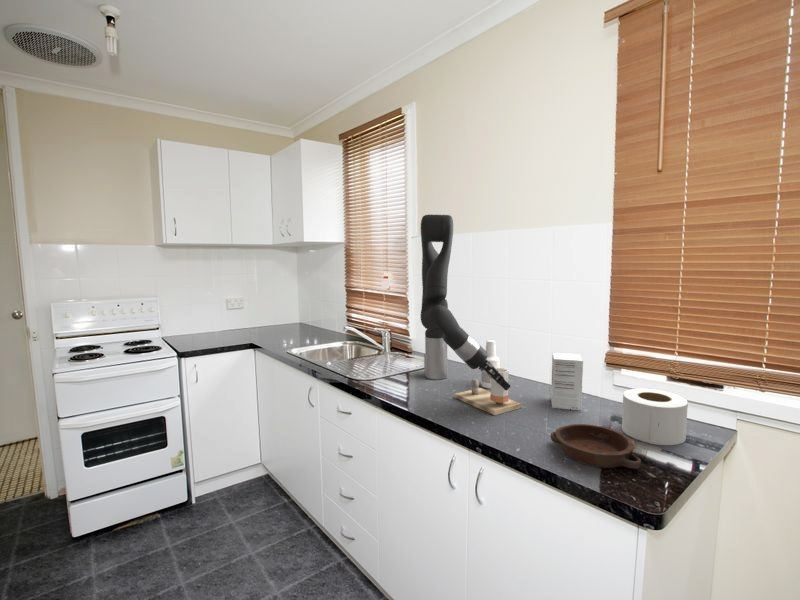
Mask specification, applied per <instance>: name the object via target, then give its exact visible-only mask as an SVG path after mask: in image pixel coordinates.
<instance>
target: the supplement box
mask: <svg viewBox="0 0 800 600" xmlns="http://www.w3.org/2000/svg"><path fill="white" fill-rule="evenodd" d="M551 356H552V357H551V361H552V362H551V384H550V385H551V393H550V395H551V396H550V400H551V408H552V409H560V410H561V409H563V410H570V409H571V410H572V411H580V410H581V411H582V402H583V401H582V398H583V397H582V396H583V375H584V374H583V373H584V360H583V359H582V355H581V354H578V353H563V352H552V354H551Z"/></svg>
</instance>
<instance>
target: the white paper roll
mask: <svg viewBox="0 0 800 600" xmlns="http://www.w3.org/2000/svg"><path fill="white" fill-rule="evenodd" d="M688 405H689V402H688V400H687V399H686V398H684V397H682V396H680V395H678V394H676V393H673V392H668V391H666V390H665V391H664V390H660V389H653V388H652V389H651V388H632V389H627V390H624V392H623V393H622V414H621V415H622V419H621V430H622V431H623V433H624V434H626V436H629V437H630V438H633V439H636V440H638V441H641V442H644V443H648V444H652V445H660V446H677V445H681V444H683V443H684V442H686V437H687V421H688V420H687V419H688V408H689V407H688Z"/></svg>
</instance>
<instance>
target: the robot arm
mask: <svg viewBox="0 0 800 600" xmlns="http://www.w3.org/2000/svg"><path fill="white" fill-rule="evenodd" d="M420 220H421V221H420V239H421V254H422V258H421V281H422V282H421V284H422V285H421V286H422V296H421V310H420V322H421V325H422V326H423V327H424V328H425V329H426V330H425V332H424V335H425V337H424V341H425V343H424V346H425V349H424V355H423V356H424V357H423V359H424V360H423V361H424V362H423V363H424V364H423V365H424V366H423V368H424V369H423V371H424V373H423V374H424V376H425V378H427V379H430V380H444V379H447V378H448V347H449V348H451V349H452V350H453V352H455V354H456V356H458V357H459V358H460V359H461V360H462V361H463V363H465V365H467V366H468V367H469V368H470V369H471V370H476V369H478V370H479V371H481V373H482V372H483V373H484V374H486V375H487V376H489V377H490V378H491V379H494V380H495V381H496V383H498V384H500V385H501V386H502V387H503V388H504V389H505V390H508V391H509V389H510V388H511V384H510V383H509V382H508V383H507V382H506V381H505V380H504V377H502V376H501V375H500V374H499V371H498V370H497V369H496V368H494V367H493V365H492V364H491V363H490V362H489V361H488V360H486V359H487V357H488V353H487V352H486V349H485V348H484V347H482V345H481V344H479V342H477V340H475V338H474V337H472V336H470V335H469V334H468V333H467V332H466V331H465V330H464V328H462V327H461V326H460V325H459V323H458V321H457V319H456V318H455V316H454V315H453V312H451V310H450V309H449V308H448V307H449V305H448V301H447V299H446V298H447V294H448V272H449V264H450V260H451V252H452V244H453V236H454V219H453V216H452V215H450V214H425V215H423V216H422V217H421V219H420ZM433 243H442V246H441V249H440V251H439V253H438V251H437V250H436V249H435V247H434V246H433ZM498 376H500V377H499V378H498V379H496V378H497V377H498Z"/></svg>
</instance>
